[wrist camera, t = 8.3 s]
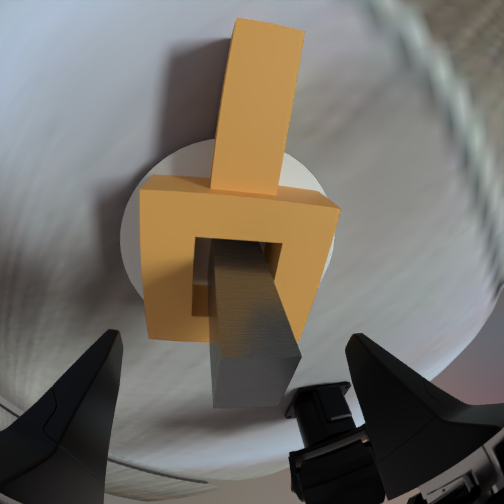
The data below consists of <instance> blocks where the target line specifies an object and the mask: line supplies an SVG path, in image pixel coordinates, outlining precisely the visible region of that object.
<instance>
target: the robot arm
mask: <svg viewBox="0 0 504 504" xmlns="http://www.w3.org/2000/svg"><path fill="white" fill-rule="evenodd" d="M345 354H346V358H347V362H348V366H349V371H350V375H351V379H352V383H353V386H354V389H355V392H356V395H357V398H358V401H359V404H360V407H361V410H362V413H363V416H364V420H365V423H364V424H362V426H360V427H358V428H356V425H355V423H354V420H353V418H352V416H351V415H352V413H351V411H350V409H349V406H348V404H347V402H346V399H345V397H344V395H345V394H346V393H347V391H348V390H349V388H350V387H351V384H350V382H344V383H338V384H332V385H324V386H317V387H308V388H301V389H299V390H298V391H297V392H296V394H295V396H294V398H293V400H292V402H291V404H290V406H289V408H288V410H287V411H286V413H285V418H286V419H290V418H296V419H297V423H298V426H299V430H300V433H301V437H302V440H303V444H304V447H305V448H304V449H301V450H298V451H292V452H289V455H290V456H289V457H288V458H289V464H290V471H291V490H292V492H294V493H296V494H297V496H298V498H299V499H300V500H301V501H302V502H304V501H305V503H306V504H383V502H384V499H385V495H386V496H387V499H388V500H391V499H394V498H396V497H398V496H400V495H403V494H405V493H407V492H409V491H411V490H413V489H415V488H417V487H419V489H420V493H418V494H416V495H415V496H413V497H411V498H409V500H408V502H407V504H504V403H499V404H489V405H468V404H466V403H463V402H461V401H460V400H458V399H456V398H455V397H453V396H451V395H450V394H448V393H446V392H445V391H443V390H441V389H440V388H438V387H437V386H435V385H434V384H432V383H431V382H429V381H428V380H427V379H425V378H424V377H422V376H421V375H420V374H418V373H417V372H415V371H414V370H413V369H411V368H410V367H408V366H407V365H406V364H404V363H403V362H401V361H400V360H399V359H397V358H396V357H395V356H393V355H392V354H390V353H389V352H388V351H386V350H385V349H383V348H382V347H381V346H379V345H378V344H377V343H375V342H374V341H372V340H371V339H370V338H368V337H367V336H365V335H364V334H363V333H355V334H353V335H352V336H351V338H350V340H349V341H348V343H347V345H346V348H345ZM122 357H123V344H122V339H121V335H120V332H119V331H118V330H113V329H108V330H107V331H106V332H105V333H104V334H103V335H102V336H101V337H100V338H99V339H98V340H97V341H96V342H95V343H94V344H93V345H92V346H91V347H90V348H89V349H88V350H87V351H86V352H85V353H84V354H83V355H82V356H81V357H80V358H79V359H78V360H77V361H76V362H75V363H74V364H73V365H72V366H71V367H70V368H69V369H68V370H67V371H66V372H65V373H64V374H63V375H62V376H61V377H60V378H59V379H58V380H57V381H56V382H55V384H54V385H53V386H52V387H51V388H50V389H49V390H48V391H47V392H46V393H45V394H44V395H43V396H42V397H41V398H40V399H39V400H38V401H37V402H36V403H35V404H34V405H33V406H32V407H31V408H29V409H28V410H27V411H26V412H25V413H24V414H23V415H21V416H20V417H19V418H18V419H17V420H16V421H14V422H13V423H12V424H11V425H10V426H9V427H7V428H6V429H4V430H2V431H0V504H103V503H104V488H105V483H104V482H105V475H106V466H107V457H108V450H109V443H110V436H111V429H112V423H113V418H114V412H115V407H116V402H117V397H118V392H119V385H120V375H121V365H122ZM366 439H367V442H365V443H363V442H362V441H364V440H366Z"/></svg>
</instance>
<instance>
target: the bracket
mask: <svg viewBox="0 0 504 504" xmlns="http://www.w3.org/2000/svg"><path fill="white" fill-rule="evenodd" d="M304 34H305V31H301V30H297V29H293V28H289V27H285V26H281V25H276V24H271V23H266V22H261V21H255V20H249V19H242V18H237V19H236V22H235V26H234V29H233V33H232V36H231V41H230V46H229V52H228V57H227V63H226V69H225V74H224V80H223V86H222V93H221V99H220V106H219V112H218V119H217V126H216V134H215V139H209V140H205V141H201V142H197V143H194V144H191V145H189V146H186V147H184V148H181V149H179V150H177V151H176V152H174V153H172V154H170V155H169V156H167V157H166V158H164V159H163V160H162V161H161V162H159V163H158V164H157V165H156V166H154V167H153V168H152V169H151V170H150V171H149V172H148V174H147V175H146V176H145V177H144V178H143V179H142V180H141V181H140V183H139V184H138V186H137V187H136V189H135V190H134V192H133V193H132V195H131V197H130V199H129V201H128V203H127V206H126V209H125V212H124V215H123V218H122V224H121V231H120V248H121V255H122V260H123V263H124V267H125V270H126V272H127V275H128V277H129V279H130V281H131V283H132V284H133V286H134V288H135V289H136V291H137V292H138V293H139V295H140V296H141V297H142V298H143V299H144V305H145V314H146V322H147V330H148V337H149V339H157V340H170V341H186V342H207V343H210V342H209V317H208V279H207V273H208V263H209V254H210V245H211V238H219V239H233V240H247V241H259V244H260V246H261V249H262V252H263V254H264V257H265V259H266V262H267V265H268V267H269V270H270V273H271V275H272V278H273V281H274V283H275V286H276V289H277V291H278V294H279V297H280V299H281V302H282V305H283V307H284V310H285V313H286V315H287V318H288V321H289V323H290V326H291V329H292V331H293V334H294V337H295V340H296V342H299V340H300V337H301V335H302V332H303V329H304V326H305V324H306V321H307V318H308V315H309V312H310V310H311V307H312V304H313V301H314V298H315V295H316V292H317V289H318V286H319V283H320V281H321V280H322V278H323V276H324V274H325V272H326V270H327V267H328V265H329V262H330V260H331V255H332V251H333V246H334V236H335V235H334V234H335V230H336V226H337V223H338V219H339V215H340V212H341V209H340V208H339V207H338V206H337V205H336V204H334V203H333V202H332V201H331V200H329V199H328V198H327V197H326V195H325V193H324V191H323V189H322V187H321V186H320V184H319V183H318V181H317V180H316V179H315V177H314V176H313V175H312V174H311V173H310V172H309V171H308V170H307V169H306V168H305V167H304V166H303V165H302V164H301V163H300V162H298V161H297V160H296V159H294V158H293V157H292V156H290V155H288V154H286V153H284V151H285V146H286V140H287V134H288V129H289V123H290V117H291V112H292V106H293V100H294V94H295V88H296V82H297V76H298V70H299V64H300V58H301V52H302V46H303V40H304Z"/></svg>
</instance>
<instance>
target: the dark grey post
mask: <svg viewBox="0 0 504 504" xmlns="http://www.w3.org/2000/svg"><path fill="white" fill-rule="evenodd" d="M207 279H208V317H209V342H210V361H211V378H212V393H213V406H214V408H255V407H272V406H278V405H279V403H280V401H281V399H282V397H283V395H284V393H285V391H286V389H287V387H288V385H289V383H290V381H291V379H292V377H293V375H294V373H295V370H296V368H297V366H298V364H299V362H300V360H301V357H302V356H301V353H300V350H299V348H298V345H297V342H296V340H295V337H294V334H293V331H292V329H291V326H290V323H289V321H288V318H287V315H286V313H285V310H284V307H283V305H282V302H281V299H280V297H279V294H278V291H277V289H276V286H275V283H274V281H273V278H272V275H271V273H270V270H269V267H268V265H267V262H266V259H265V257H264V254H263V252H262V249H261V246H260V244H259V241H247V240H233V239H219V238H211V245H210V254H209V263H208V273H207Z"/></svg>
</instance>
